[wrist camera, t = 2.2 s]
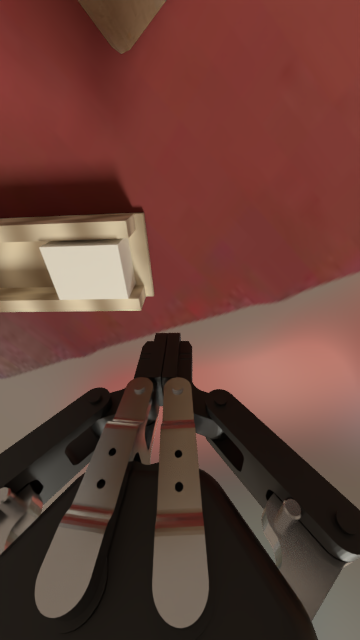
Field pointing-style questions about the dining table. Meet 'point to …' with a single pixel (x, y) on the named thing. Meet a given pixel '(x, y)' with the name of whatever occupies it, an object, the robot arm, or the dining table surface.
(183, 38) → the dining table surface
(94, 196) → the dining table surface
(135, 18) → the wooden block
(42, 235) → the birch chute
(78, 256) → the off-white block
